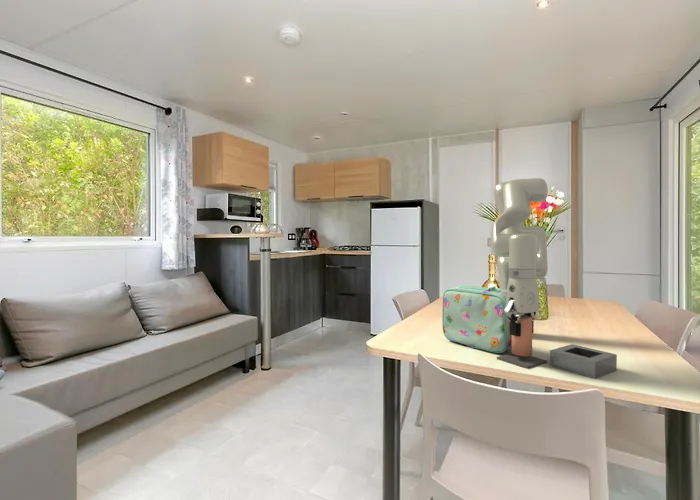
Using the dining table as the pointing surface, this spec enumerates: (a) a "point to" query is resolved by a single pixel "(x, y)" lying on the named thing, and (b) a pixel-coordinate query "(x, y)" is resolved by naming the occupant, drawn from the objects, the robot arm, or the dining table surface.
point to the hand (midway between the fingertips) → (521, 333)
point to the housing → (583, 360)
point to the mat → (522, 360)
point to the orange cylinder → (523, 338)
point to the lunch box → (477, 318)
